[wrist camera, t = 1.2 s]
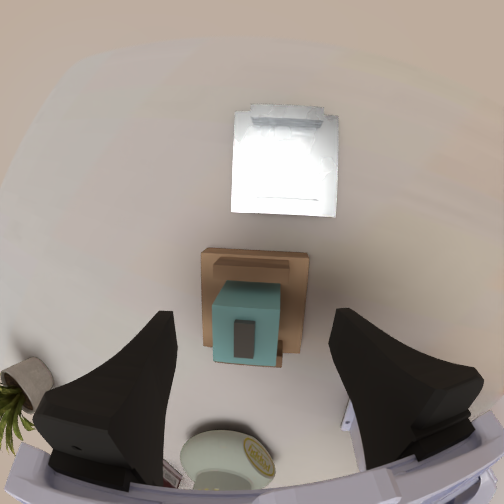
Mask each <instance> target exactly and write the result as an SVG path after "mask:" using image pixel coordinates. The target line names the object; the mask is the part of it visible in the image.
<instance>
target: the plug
mask: <svg viewBox="0 0 504 504" xmlns="http://www.w3.org/2000/svg"><path fill="white" fill-rule="evenodd" d="M279 318H280V283H263V282H246V281H231V280H227V281H226V283H225V284H224V286H223V288H222V289H221V291H220V292H219V294H218V296H217V297H216V299H215V301H214V302H213V304H212V335H213V361H217V362H226V363H236V364H247V365H260V366H276V355H277V344H278V331H279Z"/></svg>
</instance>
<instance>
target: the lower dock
mask: <svg viewBox="0 0 504 504" xmlns="http://www.w3.org/2000/svg"><path fill="white" fill-rule="evenodd" d="M337 182H338V116H334V115H324V107H315V106H301V105H282V104H251V111H235V121H234V144H233V172H232V205H231V212H246V213H270V214H290V215H308V216H324V217H336V204H337Z"/></svg>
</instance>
